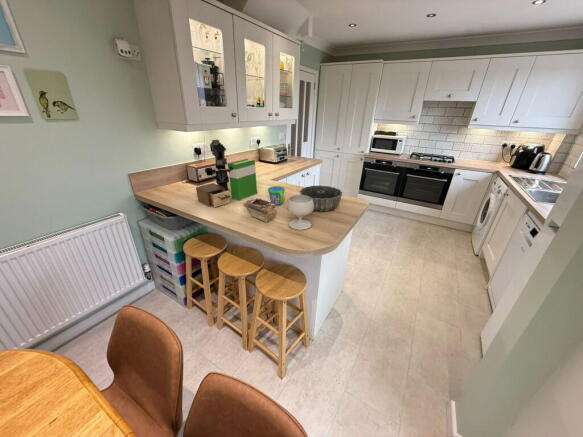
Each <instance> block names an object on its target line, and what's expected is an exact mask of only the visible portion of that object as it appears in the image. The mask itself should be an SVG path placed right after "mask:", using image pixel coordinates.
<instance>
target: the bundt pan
mask: <svg viewBox="0 0 583 437" xmlns="http://www.w3.org/2000/svg"><path fill="white" fill-rule="evenodd" d="M343 193H344V192H343V191H342V190H341V189H340V188H336V187H334V186H330V185H320V184H319V185H308V186H305V187H302V188H300V190H299V195H306V196H309V197H311V198H312V200H313V203H314V209H313V211H316V212H317V211H319V212H322V211H323V212H328V211H333V210H335V209H336V208H338V206H339V205H340V202H341V200H342V196H343Z"/></svg>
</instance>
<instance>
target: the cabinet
mask: <svg viewBox="0 0 583 437" xmlns="http://www.w3.org/2000/svg"><path fill="white" fill-rule="evenodd" d="M222 189H223V190H225V187H222V186H220V185H218V184H217V183H214V182H211V183H207V184H203V185H199V186H196V187H195V192H196V196H197V200H198V202H199V203H201V204H204V205H206V206H207V207H214V205H212V204H210V198H209V193H211V192H215V191H218V190H222Z"/></svg>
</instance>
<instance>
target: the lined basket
mask: <svg viewBox="0 0 583 437" xmlns="http://www.w3.org/2000/svg"><path fill="white" fill-rule="evenodd" d="M242 205H243V207H244V208H245V209H246V211H247V212H248V213H249V214H250V215H251V217H253V218H256V219H258V220H260V221H263V222H265V223H268V222H270V221H272V220H273V219H275V218H276V217H277V216H276V215H277V210H276V205H275V204H272V203H271V201H270V199H266V198H259V197H256V198H252V199H249V200H246V201H245V202H243V204H242Z"/></svg>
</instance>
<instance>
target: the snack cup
mask: <svg viewBox="0 0 583 437" xmlns="http://www.w3.org/2000/svg"><path fill="white" fill-rule="evenodd" d="M285 190H286V188H285V187H284V186H280V185H273V186H270V187H268V188H267V192H268V196H269V201H271V202H270V203H272V204H275V206H281V205H282V204H283V202H285V197H284V194H285Z"/></svg>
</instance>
